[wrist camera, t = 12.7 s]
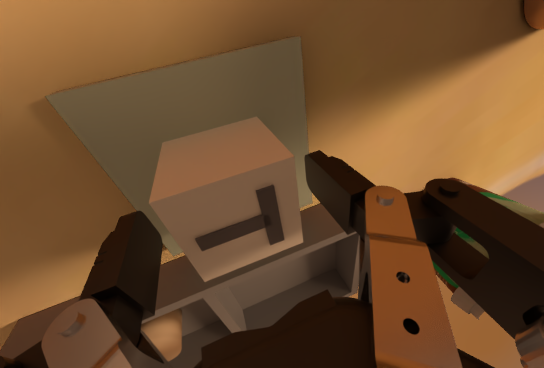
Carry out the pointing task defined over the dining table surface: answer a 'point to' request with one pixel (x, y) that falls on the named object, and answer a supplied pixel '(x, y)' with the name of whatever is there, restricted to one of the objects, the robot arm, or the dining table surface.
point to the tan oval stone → (166, 333)
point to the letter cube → (228, 196)
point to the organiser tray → (235, 290)
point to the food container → (458, 294)
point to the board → (188, 113)
